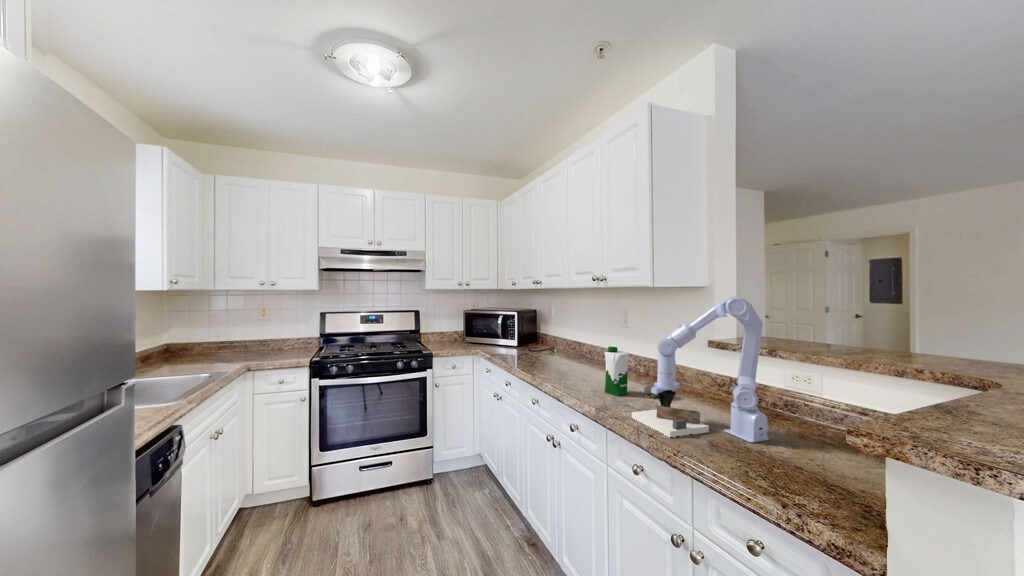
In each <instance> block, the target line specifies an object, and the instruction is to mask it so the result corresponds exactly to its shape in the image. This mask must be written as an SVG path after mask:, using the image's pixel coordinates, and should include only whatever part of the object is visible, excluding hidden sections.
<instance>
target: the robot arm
mask: <svg viewBox="0 0 1024 576" xmlns="http://www.w3.org/2000/svg"><path fill="white" fill-rule="evenodd" d="M728 314H729V315H730V316H731V317H733V318H734V319H735V318H736V320H738V322H739V323H740V324H741V325H742V326H743V327H744V328H743V334H742V343H741V351H740V358H739V366H738V367H739V368H738V373H737V377H736V382H735V384H734V385H733V386H732V388H731V393H732V397H733V401H732V402H731V403H730V427H729V428H727V429H723V432H724V433H727V434H729V435H732V436H734V437H737V438H738V439H741V440H744V441H746V442H749V443H758V442H764V441H769V440H770V438H769V437H768V422H769V421H768V417H767V415H766V414H765V413H763V412H761V411H760V410H759V408H758V403H759V401H758V400H759V399H758V396H757V394H756V389H757V388H756V386H757V385H756V384H757V382H756V377H757V371H758V362H759V355H760V348H761V341H762V334H763V333H762V332H763V321H762V319H760V318H761V317H759V315H758V313H757V311H756V310H755V309H754V306H753V304H751V302H749V300H747V299H745V298H744V297H741V296H730V297H728V298H727V299H726V300H725V301H722V302H720V303H718V304H716V305H714V306H713V307H710V308H709V309H708V310H707V311H706V312H704V313H703V314H702V315H700V316H699V317H697V319H695V320H694V321H692V322H691V323H689V324H688V323H683V324H679V325H677V326H676V329H675V330H673V331H671V332H670V333H666V334H665V337H663V338H661V340H659V342H658V343H657V351H658V353H657V354H658V355H657V357H658V358H657V373H656V374H657V379H656V382H654V385H655V386H654V387H652V388H651V393H653V394H657V395H658V397H657V398H658V400H659V404H660V406H663V407H670V408H671V405H672V402H673V400H674V398H675V397H676V395H677V392H676V391H674V390H675V389H677V390H678V389H679V390H680V387H681V386H680V384H681V383H680V382H677V381H676V362H677V361H676V351H677V349H680V348H682V347H684V346H685V345H687V344H688V343H690V342H691V341H692V340H694V339H695V338H696V337H697V332H698V331H700V330H702V328H704V327H705V326H707V325H709V324H710V323H712V322H713V321H715V320H716V319H719V318H727V317H728Z"/></svg>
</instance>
